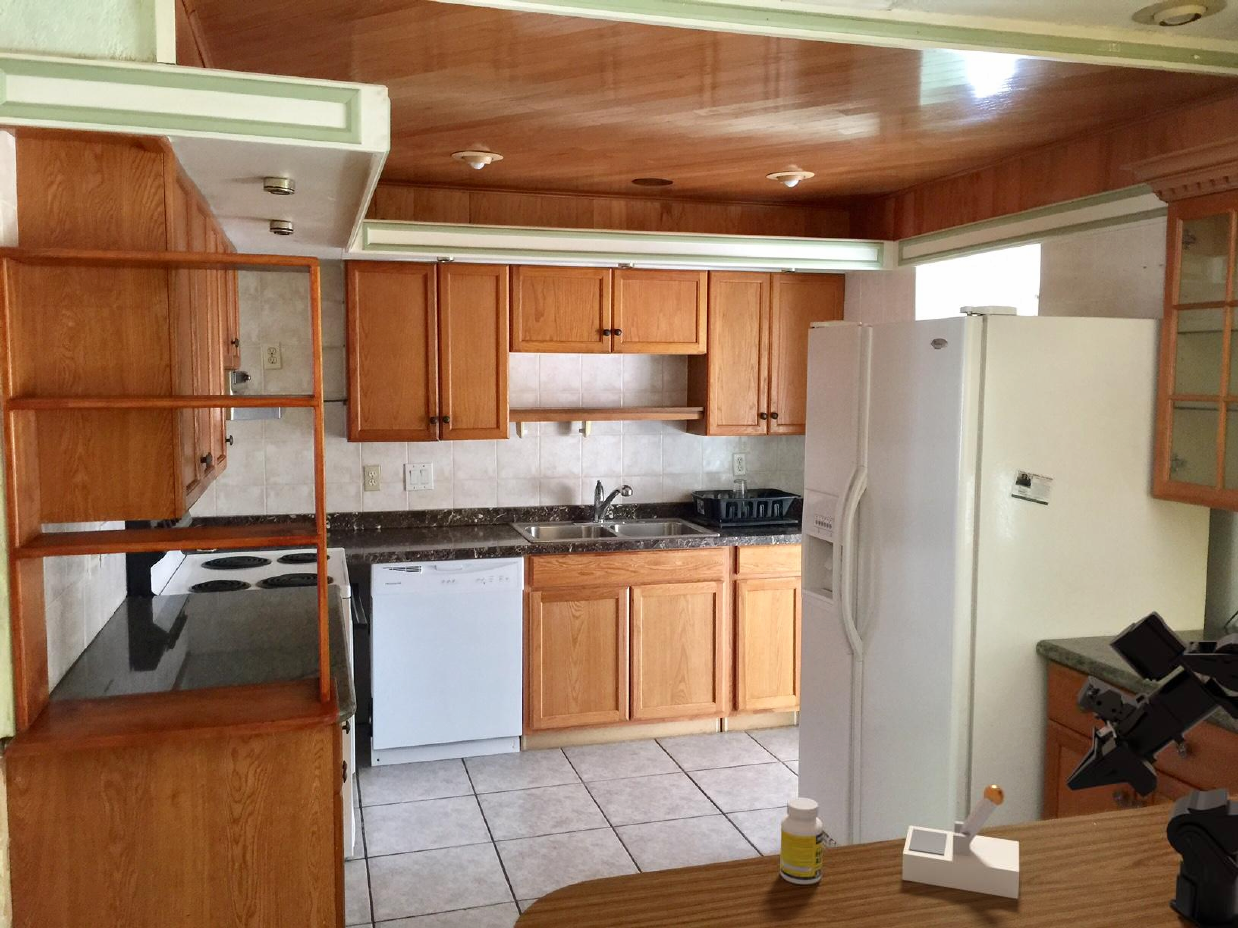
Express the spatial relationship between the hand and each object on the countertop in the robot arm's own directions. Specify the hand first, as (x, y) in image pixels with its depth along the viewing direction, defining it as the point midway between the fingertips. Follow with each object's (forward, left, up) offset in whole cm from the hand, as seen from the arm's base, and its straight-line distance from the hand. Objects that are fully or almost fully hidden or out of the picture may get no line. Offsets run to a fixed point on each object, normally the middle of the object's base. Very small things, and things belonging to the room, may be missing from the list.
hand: (1069, 785), depth 130 cm
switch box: (+11, -6, -14) cm, 19 cm away
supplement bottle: (+32, -8, -14) cm, 36 cm away
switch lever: (+11, -6, -9) cm, 16 cm away
